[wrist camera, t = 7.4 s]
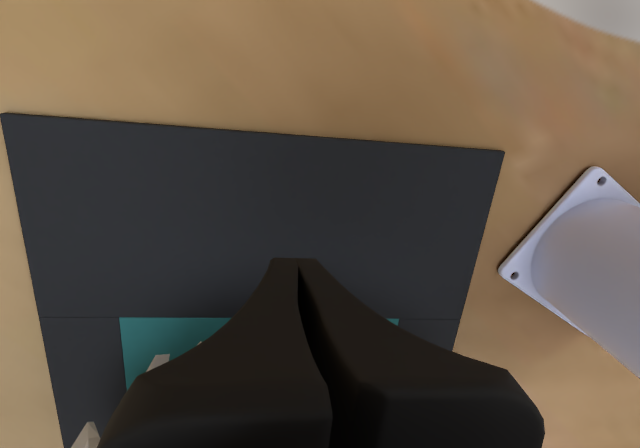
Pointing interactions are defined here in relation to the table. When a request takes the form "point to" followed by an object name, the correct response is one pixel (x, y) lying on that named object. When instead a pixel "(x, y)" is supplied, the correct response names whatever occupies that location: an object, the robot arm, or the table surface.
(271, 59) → the table surface
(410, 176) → the mat
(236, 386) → the robot arm
